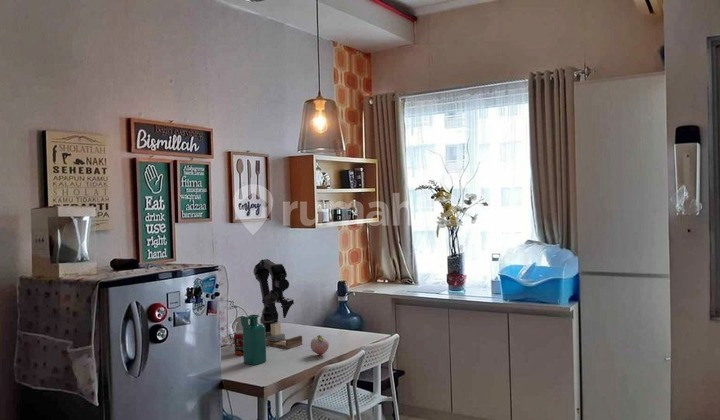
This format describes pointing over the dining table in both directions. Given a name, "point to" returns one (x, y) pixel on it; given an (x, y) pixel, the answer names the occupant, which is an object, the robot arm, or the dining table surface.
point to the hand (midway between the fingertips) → (278, 316)
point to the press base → (285, 342)
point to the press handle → (275, 333)
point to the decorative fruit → (319, 345)
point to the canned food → (238, 342)
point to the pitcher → (253, 340)
